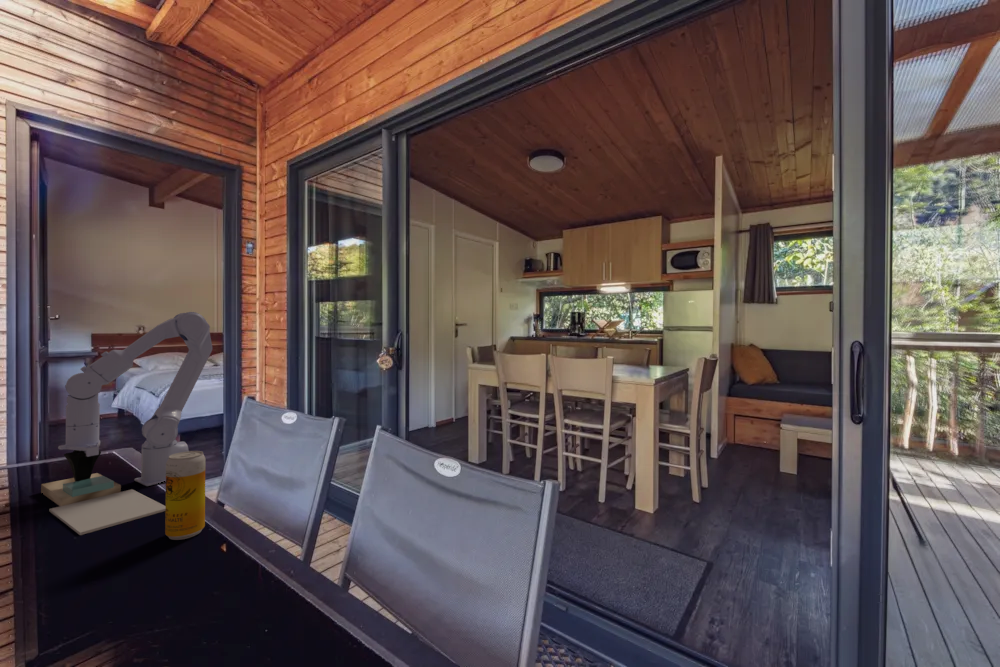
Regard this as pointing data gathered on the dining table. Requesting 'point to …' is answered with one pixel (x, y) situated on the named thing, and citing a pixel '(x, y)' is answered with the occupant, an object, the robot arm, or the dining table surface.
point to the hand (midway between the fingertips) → (82, 482)
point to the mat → (106, 511)
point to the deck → (61, 498)
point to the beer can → (185, 495)
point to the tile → (88, 486)
